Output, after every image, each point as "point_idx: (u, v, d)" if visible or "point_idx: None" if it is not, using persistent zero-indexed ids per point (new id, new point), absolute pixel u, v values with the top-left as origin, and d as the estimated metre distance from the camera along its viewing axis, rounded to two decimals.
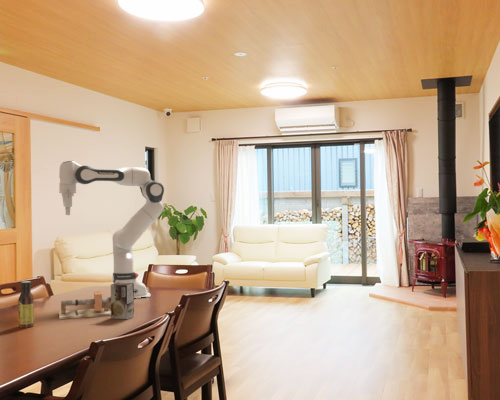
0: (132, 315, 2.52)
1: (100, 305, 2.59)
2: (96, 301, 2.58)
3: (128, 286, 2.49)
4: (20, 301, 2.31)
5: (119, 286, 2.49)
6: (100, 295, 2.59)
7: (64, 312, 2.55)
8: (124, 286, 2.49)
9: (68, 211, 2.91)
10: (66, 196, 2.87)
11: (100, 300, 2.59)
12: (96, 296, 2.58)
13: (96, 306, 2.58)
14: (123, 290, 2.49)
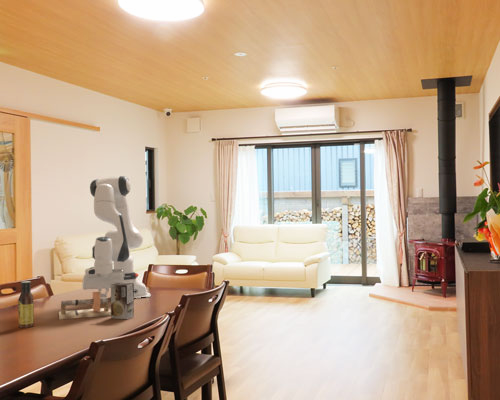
0: (132, 315, 2.52)
1: (99, 305, 2.58)
2: (95, 301, 2.58)
3: (128, 286, 2.49)
4: (20, 301, 2.31)
5: (119, 286, 2.49)
6: (99, 295, 2.58)
7: (64, 312, 2.55)
8: (124, 286, 2.49)
9: (106, 293, 2.66)
10: (123, 276, 2.68)
11: (99, 300, 2.58)
12: (95, 296, 2.58)
13: (95, 306, 2.58)
14: (123, 290, 2.49)
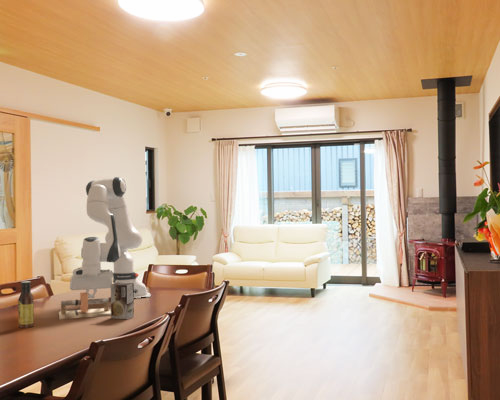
0: (132, 315, 2.52)
1: (86, 306, 2.56)
2: (82, 302, 2.56)
3: (128, 286, 2.49)
4: (20, 301, 2.31)
5: (119, 286, 2.49)
6: (86, 296, 2.56)
7: (64, 312, 2.55)
8: (124, 286, 2.49)
9: (94, 293, 2.64)
10: (111, 277, 2.66)
11: (86, 301, 2.56)
12: (82, 297, 2.56)
13: (82, 307, 2.56)
14: (123, 290, 2.49)
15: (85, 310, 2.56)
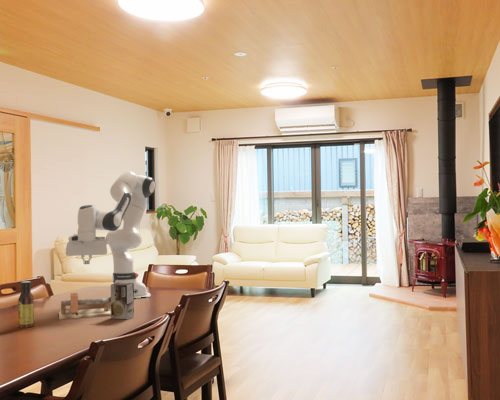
0: (132, 315, 2.52)
1: (76, 307, 2.55)
2: (72, 303, 2.54)
3: (128, 286, 2.49)
4: (20, 301, 2.31)
5: (119, 286, 2.49)
6: (76, 296, 2.55)
7: (64, 312, 2.55)
8: (124, 286, 2.49)
9: None
10: (106, 243, 2.74)
11: (76, 302, 2.55)
12: (72, 297, 2.54)
13: (72, 308, 2.54)
14: (123, 290, 2.49)
15: (75, 311, 2.54)
